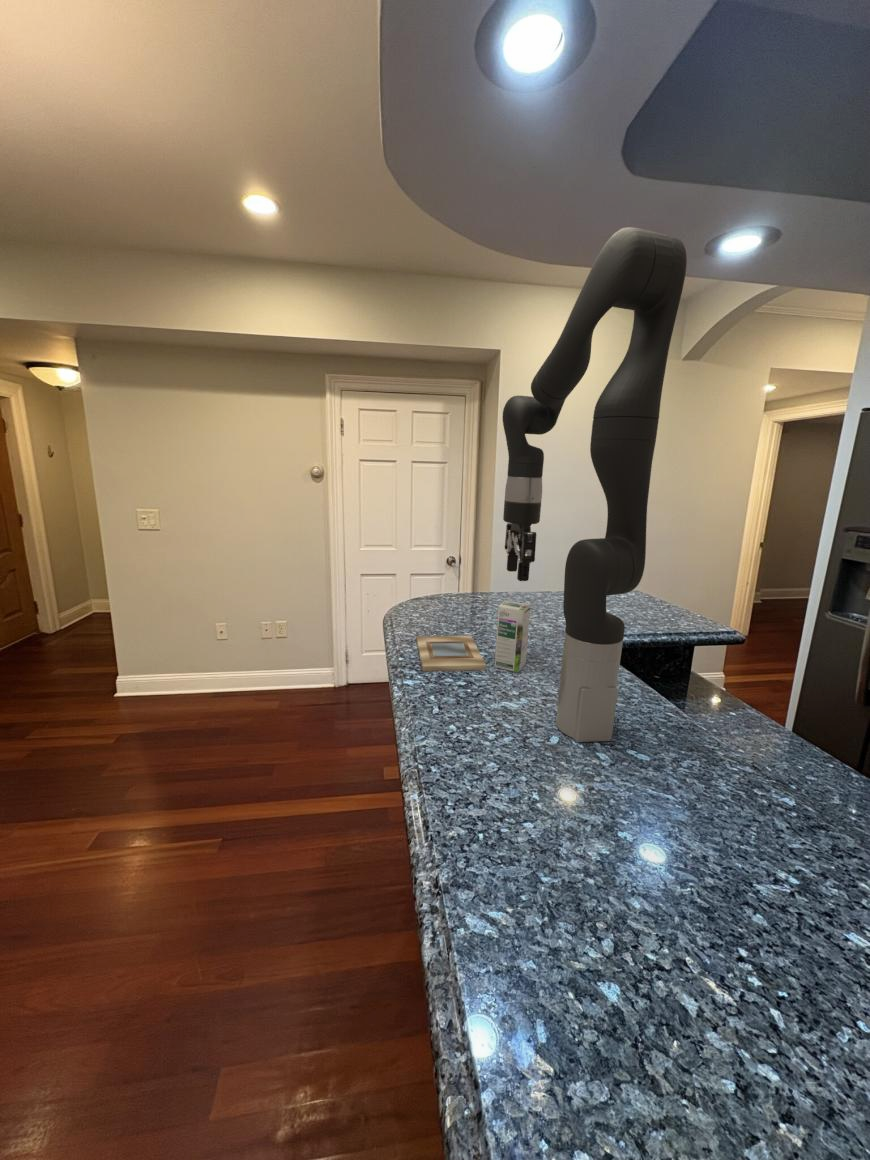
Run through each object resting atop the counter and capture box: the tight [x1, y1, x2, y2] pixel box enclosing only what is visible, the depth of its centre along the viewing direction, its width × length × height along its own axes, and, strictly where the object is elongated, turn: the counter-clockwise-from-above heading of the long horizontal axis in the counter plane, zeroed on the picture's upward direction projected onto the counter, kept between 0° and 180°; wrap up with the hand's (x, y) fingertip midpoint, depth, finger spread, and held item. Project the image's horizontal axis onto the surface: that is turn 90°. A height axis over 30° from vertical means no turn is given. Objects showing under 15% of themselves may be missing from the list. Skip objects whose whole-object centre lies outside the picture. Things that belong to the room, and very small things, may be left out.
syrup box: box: [494, 600, 531, 674], centre depth 106 cm, size 6×6×14 cm
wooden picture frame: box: [415, 635, 487, 672], centre depth 113 cm, size 18×14×1 cm
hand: (516, 575), depth 103 cm, fingers open, 8 cm apart
